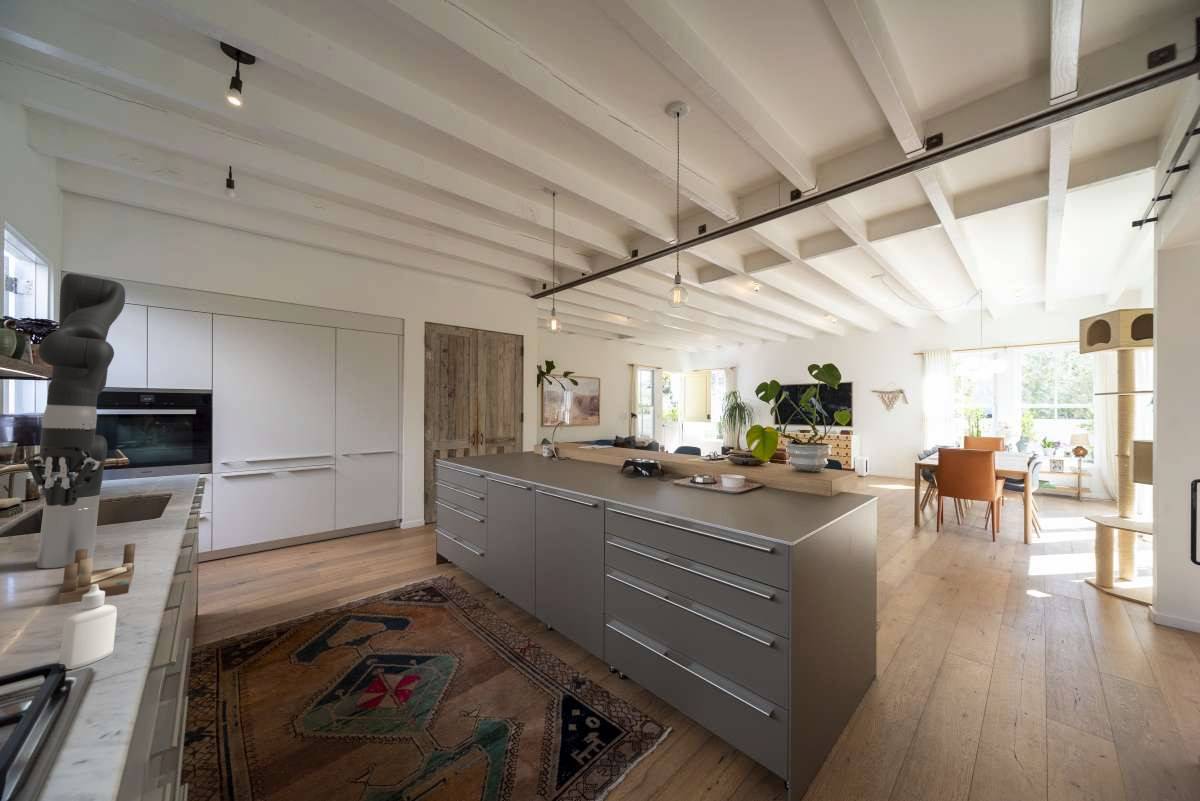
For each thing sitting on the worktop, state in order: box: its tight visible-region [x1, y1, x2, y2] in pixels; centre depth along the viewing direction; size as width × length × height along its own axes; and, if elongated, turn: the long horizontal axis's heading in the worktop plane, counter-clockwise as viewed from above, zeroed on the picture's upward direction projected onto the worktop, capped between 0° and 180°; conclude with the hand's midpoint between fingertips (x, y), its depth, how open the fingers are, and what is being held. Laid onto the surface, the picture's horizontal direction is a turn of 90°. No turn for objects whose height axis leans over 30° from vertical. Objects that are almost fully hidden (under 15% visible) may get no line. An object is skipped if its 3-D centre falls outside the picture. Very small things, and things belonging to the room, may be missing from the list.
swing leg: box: [78, 558, 134, 586], centre depth 97 cm, size 11×2×5 cm, turn 5°
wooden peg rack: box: [58, 543, 136, 605], centre depth 97 cm, size 16×10×8 cm, turn 44°
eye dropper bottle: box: [58, 584, 118, 670], centre depth 69 cm, size 4×6×12 cm
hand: (61, 505), depth 94 cm, fingers closed
